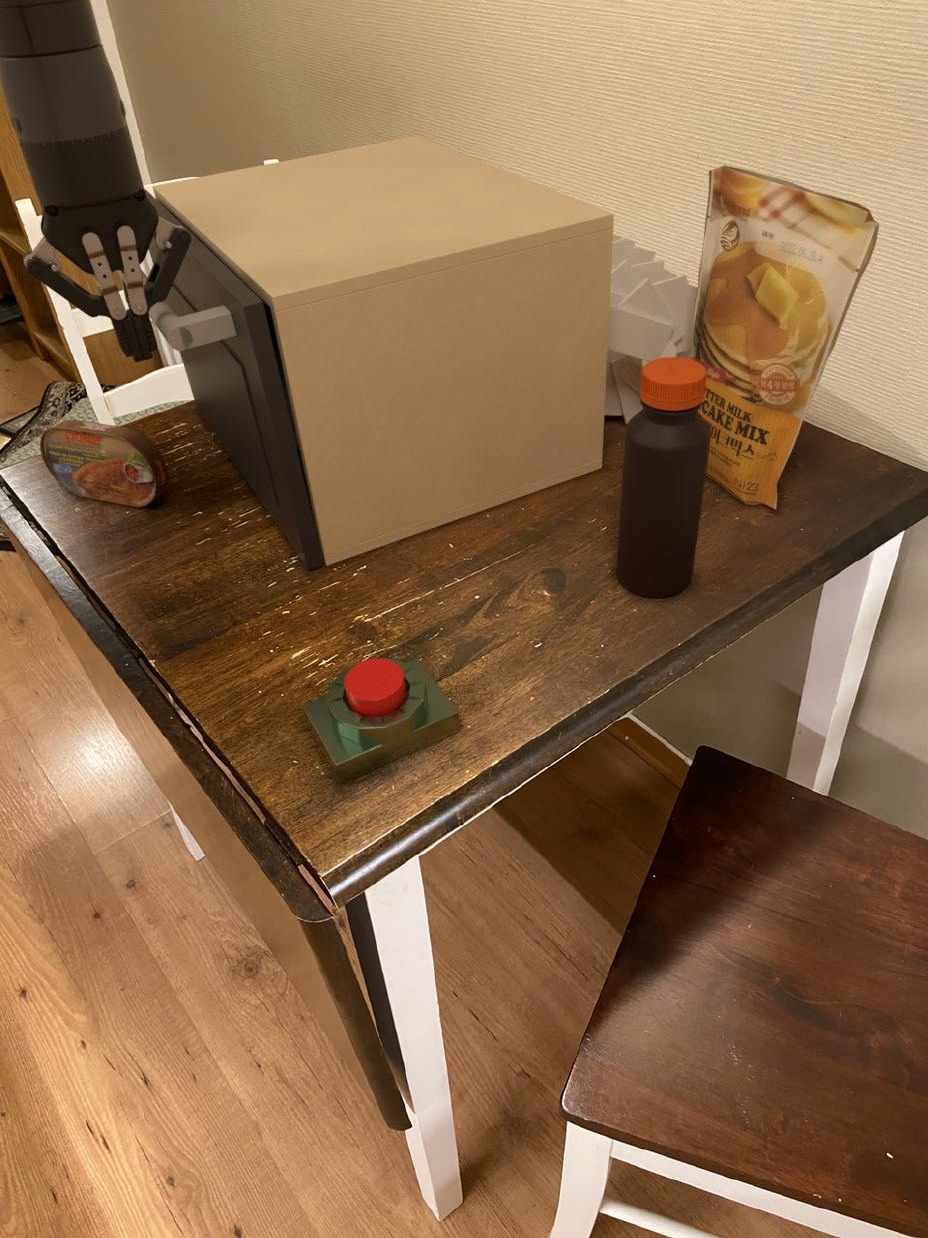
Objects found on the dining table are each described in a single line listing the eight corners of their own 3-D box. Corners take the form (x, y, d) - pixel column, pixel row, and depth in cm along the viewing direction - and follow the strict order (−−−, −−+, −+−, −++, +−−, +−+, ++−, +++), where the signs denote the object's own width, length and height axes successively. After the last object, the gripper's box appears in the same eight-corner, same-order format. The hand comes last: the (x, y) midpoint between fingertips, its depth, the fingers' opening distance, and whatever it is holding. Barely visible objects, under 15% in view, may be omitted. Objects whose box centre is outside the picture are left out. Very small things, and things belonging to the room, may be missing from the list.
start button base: (341, 786, 64) (332, 750, 62) (305, 723, 69) (296, 687, 67) (461, 732, 67) (458, 696, 65) (419, 675, 72) (415, 639, 70)
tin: (54, 492, 98) (25, 423, 93) (73, 477, 100) (46, 410, 95) (164, 514, 93) (140, 443, 88) (181, 498, 96) (159, 428, 90)
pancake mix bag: (704, 424, 101) (739, 155, 83) (820, 505, 87) (892, 205, 69) (654, 439, 99) (679, 167, 81) (764, 524, 85) (824, 220, 67)
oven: (326, 566, 85) (271, 296, 68) (211, 405, 112) (152, 185, 95) (602, 468, 95) (614, 213, 78) (435, 343, 123) (417, 135, 106)
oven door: (253, 591, 82) (172, 325, 65) (154, 421, 110) (78, 202, 93) (324, 565, 84) (263, 300, 68) (209, 405, 112) (145, 188, 95)
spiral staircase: (593, 374, 121) (687, 450, 102) (480, 343, 113) (561, 418, 94) (650, 239, 113) (765, 293, 94) (533, 194, 105) (633, 243, 86)
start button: (361, 725, 64) (358, 708, 63) (338, 688, 67) (335, 671, 66) (416, 702, 65) (413, 685, 64) (391, 667, 68) (388, 650, 67)
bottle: (600, 573, 81) (610, 369, 68) (652, 545, 84) (672, 343, 71) (654, 609, 77) (676, 399, 64) (707, 578, 80) (739, 370, 67)
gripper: (152, 102, 67) (206, 324, 78) (-33, 129, 63) (52, 361, 74) (176, 118, 62) (231, 353, 73) (-23, 149, 58) (67, 394, 69)
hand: (141, 357), depth 74 cm, fingers closed
